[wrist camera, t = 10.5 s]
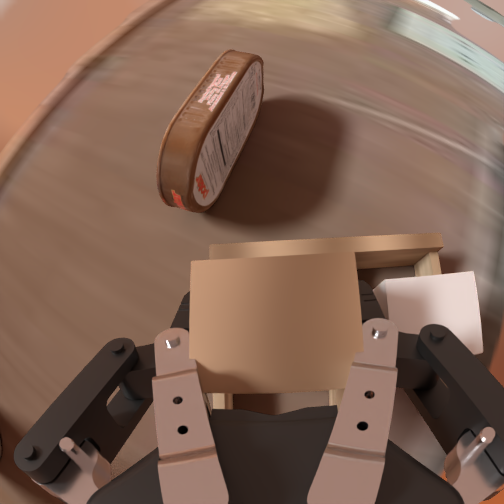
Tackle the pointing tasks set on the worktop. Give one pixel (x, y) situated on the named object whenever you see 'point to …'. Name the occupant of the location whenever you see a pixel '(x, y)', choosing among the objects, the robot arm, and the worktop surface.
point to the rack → (365, 247)
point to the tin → (210, 132)
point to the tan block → (275, 323)
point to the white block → (434, 305)
